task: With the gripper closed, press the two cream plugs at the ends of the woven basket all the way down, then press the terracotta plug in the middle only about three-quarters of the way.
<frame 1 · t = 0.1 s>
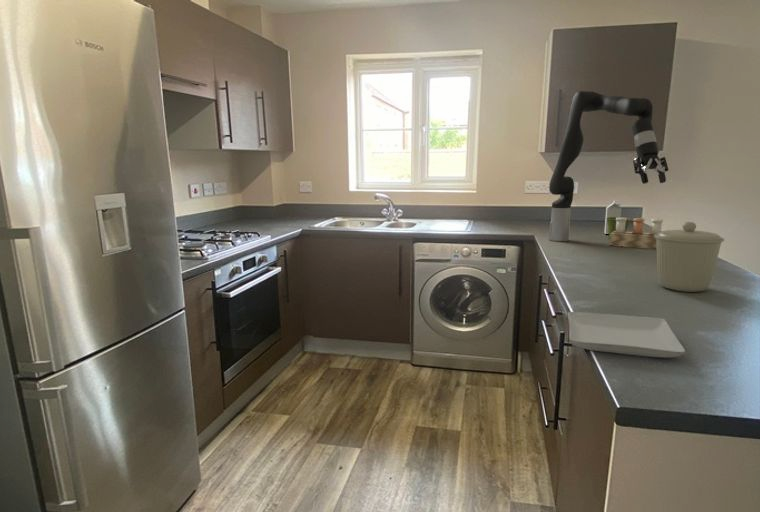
hand: (654, 182, 183), 31 cm above the worktop, tool tilted 20°, fingers open, 8 cm apart
plant pot: (616, 239, 242), on the worktop
woven basket: (636, 246, 221), on the worktop
terracotta plug: (638, 227, 220), point 9 cm above the worktop, slide at 0.0 cm
cream plug left: (620, 226, 224), point 9 cm above the worktop, slide at 0.0 cm
milk carton: (611, 234, 259), on the worktop
canister: (682, 288, 145), on the worktop
cream plug right: (656, 228, 215), point 9 cm above the worktop, slide at 0.0 cm
salad plate: (618, 343, 103), on the worktop
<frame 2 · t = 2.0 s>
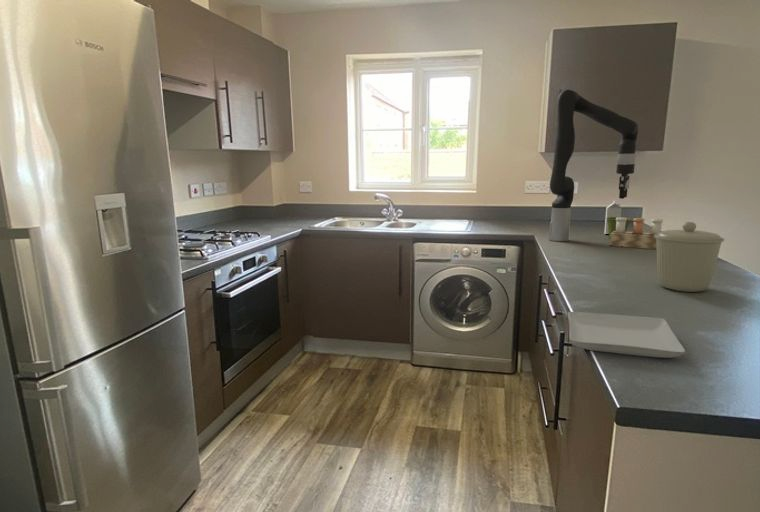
hand: (622, 197, 221), 23 cm above the worktop, tool pointing down, fingers open, 8 cm apart
nothing on the worktop moved.
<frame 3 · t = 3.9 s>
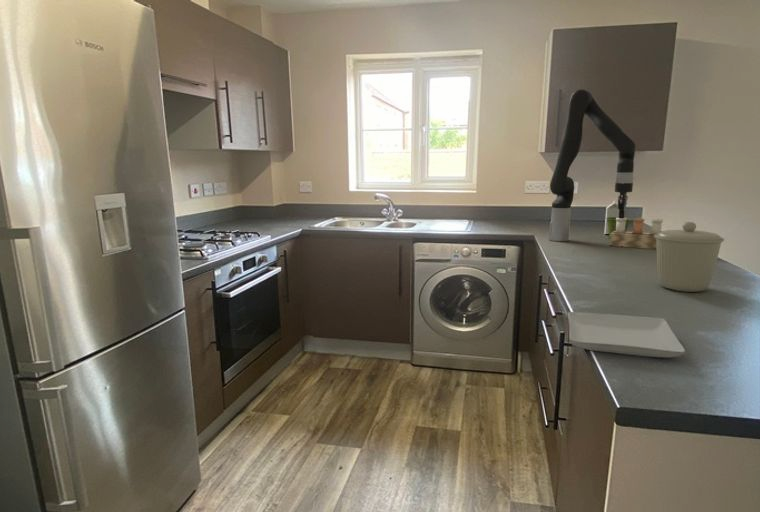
hand: (621, 218, 223), 13 cm above the worktop, tool pointing down, fingers closed
cream plug left: (620, 226, 224), point 9 cm above the worktop, slide at 0.0 cm, touching gripper
everything else where it was.
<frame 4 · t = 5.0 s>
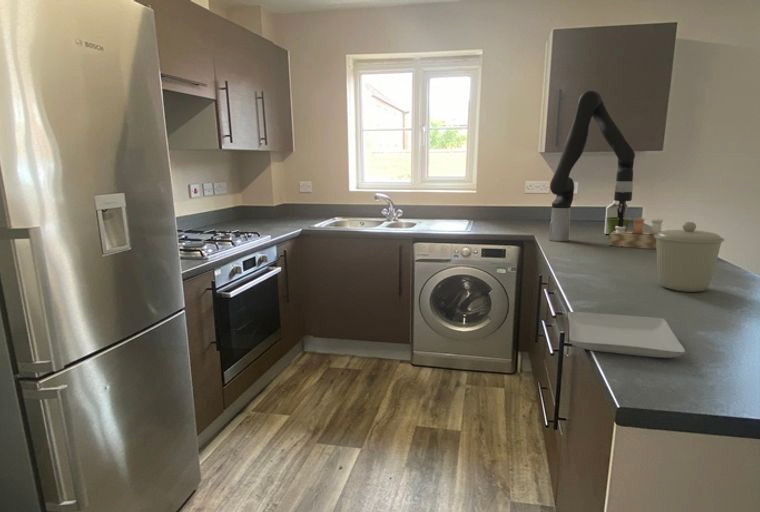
hand: (620, 226, 224), 9 cm above the worktop, tool pointing down, fingers closed
cream plug left: (619, 234, 224), point 5 cm above the worktop, slide at 4.2 cm, touching gripper
everything else where it was.
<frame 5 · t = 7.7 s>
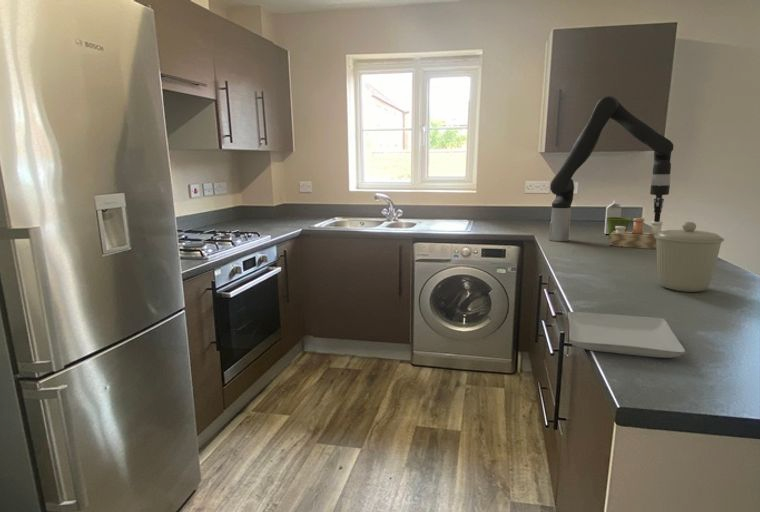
hand: (656, 221, 215), 12 cm above the worktop, tool pointing down, fingers closed
cream plug left: (619, 234, 224), point 5 cm above the worktop, slide at 4.2 cm
cream plug right: (656, 230, 215), point 8 cm above the worktop, slide at 1.0 cm, touching gripper
everything else where it was.
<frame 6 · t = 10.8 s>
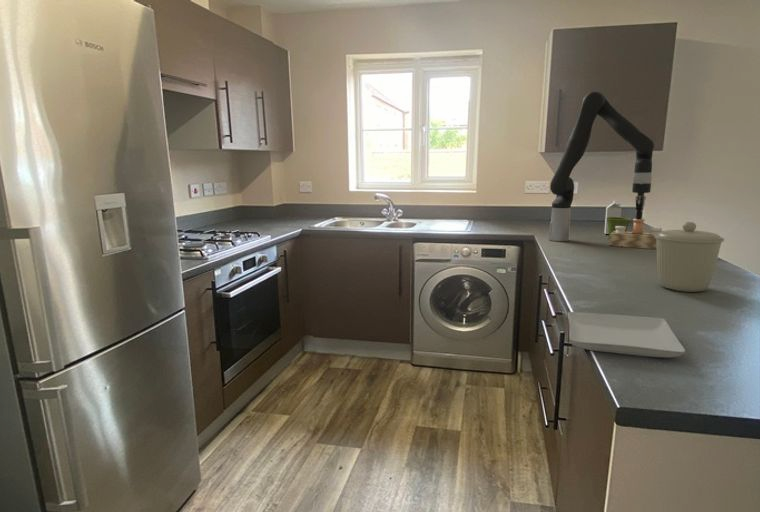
hand: (638, 219, 219), 13 cm above the worktop, tool pointing down, fingers closed
terracotta plug: (638, 227, 220), point 9 cm above the worktop, slide at 0.2 cm, touching gripper
cream plug right: (655, 236, 216), point 5 cm above the worktop, slide at 4.1 cm
everything else where it was.
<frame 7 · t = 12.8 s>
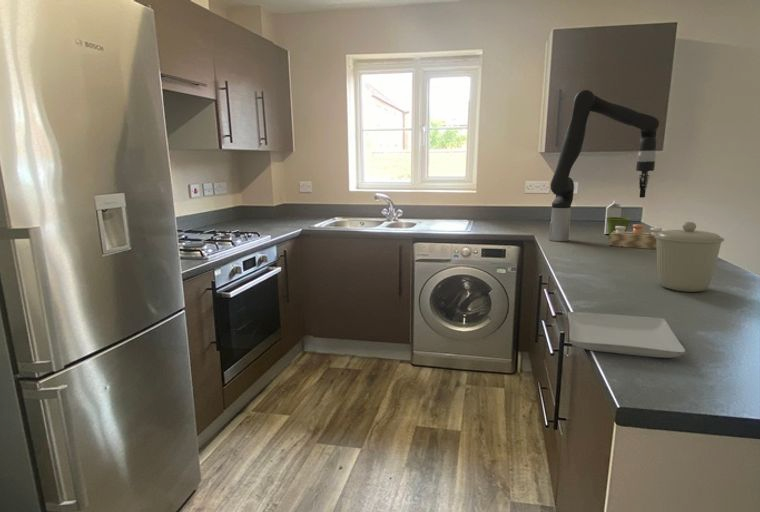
hand: (642, 197, 221), 23 cm above the worktop, tool pointing down, fingers closed
terracotta plug: (637, 233, 220), point 6 cm above the worktop, slide at 3.0 cm
everything else where it was.
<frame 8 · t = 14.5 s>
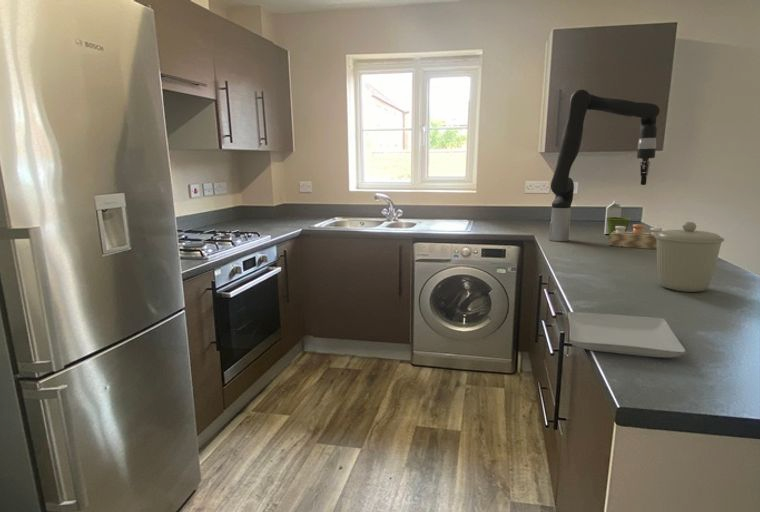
hand: (643, 184, 221), 29 cm above the worktop, tool pointing down, fingers closed
nothing on the worktop moved.
at the end: cream plug left slide at 4.2 cm; cream plug right slide at 4.1 cm; terracotta plug slide at 3.0 cm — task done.
